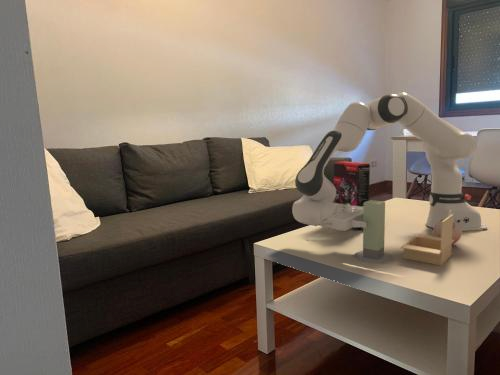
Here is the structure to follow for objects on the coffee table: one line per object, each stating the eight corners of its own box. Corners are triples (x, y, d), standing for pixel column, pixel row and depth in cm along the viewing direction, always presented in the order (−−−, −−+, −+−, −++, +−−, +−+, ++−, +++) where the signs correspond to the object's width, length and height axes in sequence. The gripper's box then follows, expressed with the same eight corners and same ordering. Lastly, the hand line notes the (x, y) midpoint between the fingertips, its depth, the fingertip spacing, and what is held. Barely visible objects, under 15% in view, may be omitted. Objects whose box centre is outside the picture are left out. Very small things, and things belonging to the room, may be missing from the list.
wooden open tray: (400, 262, 124) (401, 218, 122) (418, 248, 137) (419, 208, 135) (438, 269, 117) (440, 223, 115) (453, 254, 130) (455, 212, 128)
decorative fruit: (467, 248, 135) (468, 220, 133) (445, 250, 134) (446, 222, 132) (449, 241, 144) (450, 214, 142) (428, 242, 143) (429, 215, 141)
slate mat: (387, 252, 134) (387, 250, 134) (397, 264, 122) (397, 262, 122) (351, 252, 135) (351, 250, 135) (357, 264, 124) (357, 262, 123)
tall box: (362, 256, 129) (363, 202, 126) (369, 252, 132) (370, 200, 129) (377, 259, 125) (378, 204, 123) (384, 255, 129) (385, 201, 126)
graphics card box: (332, 222, 177) (332, 161, 172) (345, 220, 179) (345, 160, 175) (356, 231, 161) (357, 164, 157) (370, 228, 164) (371, 163, 159)
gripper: (318, 212, 128) (359, 218, 119) (348, 202, 143) (385, 206, 134) (318, 231, 129) (358, 238, 120) (348, 219, 144) (385, 224, 135)
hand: (373, 221), depth 127 cm, fingers open, 8 cm apart
